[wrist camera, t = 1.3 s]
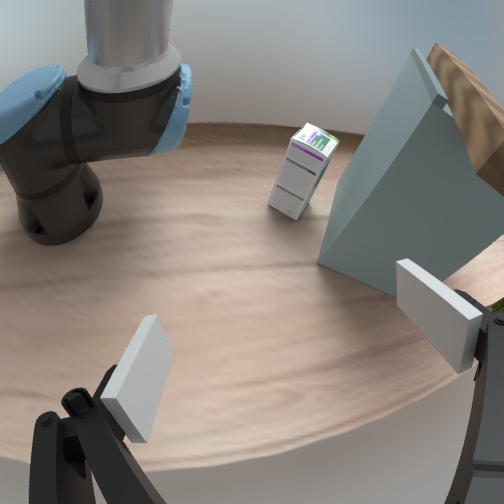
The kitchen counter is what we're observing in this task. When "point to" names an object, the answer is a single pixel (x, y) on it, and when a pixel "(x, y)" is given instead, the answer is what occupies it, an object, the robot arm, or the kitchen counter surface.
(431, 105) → the grey-blue storage bin
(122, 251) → the kitchen counter surface
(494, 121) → the walnut slat
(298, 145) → the syrup box
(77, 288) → the kitchen counter surface
